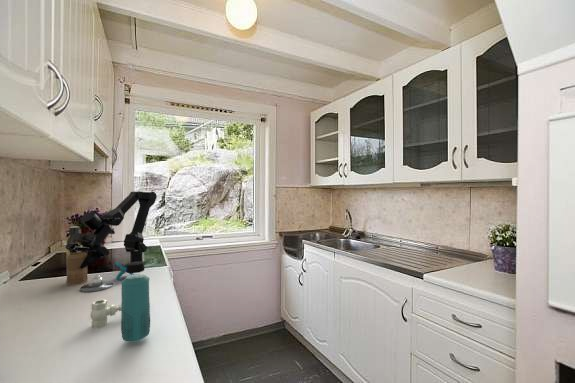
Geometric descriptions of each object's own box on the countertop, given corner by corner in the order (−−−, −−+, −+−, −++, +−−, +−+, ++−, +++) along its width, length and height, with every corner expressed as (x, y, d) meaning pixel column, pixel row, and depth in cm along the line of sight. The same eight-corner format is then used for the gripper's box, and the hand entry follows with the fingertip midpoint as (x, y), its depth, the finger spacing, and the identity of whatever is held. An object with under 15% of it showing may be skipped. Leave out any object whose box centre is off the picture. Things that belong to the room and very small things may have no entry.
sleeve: (65, 282, 115) (65, 253, 115) (84, 279, 120) (84, 251, 120) (69, 286, 111) (69, 256, 111) (88, 282, 116) (88, 253, 115)
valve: (93, 331, 76) (140, 317, 84) (93, 307, 75) (140, 295, 84) (87, 323, 80) (133, 310, 89) (87, 300, 80) (133, 290, 89)
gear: (138, 275, 119) (119, 261, 116) (127, 287, 117) (107, 273, 113) (134, 273, 128) (116, 259, 125) (124, 284, 125) (105, 270, 122)
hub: (76, 287, 110) (76, 276, 109) (108, 280, 118) (108, 270, 118) (84, 294, 102) (84, 282, 102) (117, 286, 110) (117, 275, 110)
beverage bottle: (154, 340, 71) (154, 262, 71) (125, 351, 66) (125, 267, 66) (144, 331, 75) (144, 258, 75) (116, 341, 70) (116, 262, 70)
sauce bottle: (81, 267, 139) (81, 227, 138) (65, 268, 135) (65, 228, 135) (82, 264, 144) (82, 225, 144) (67, 265, 141) (67, 226, 141)
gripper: (69, 224, 121) (41, 255, 111) (103, 225, 117) (77, 258, 106) (86, 239, 129) (62, 269, 118) (119, 241, 124) (96, 273, 114)
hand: (73, 267), depth 114 cm, fingers closed on sleeve, 7 cm apart
